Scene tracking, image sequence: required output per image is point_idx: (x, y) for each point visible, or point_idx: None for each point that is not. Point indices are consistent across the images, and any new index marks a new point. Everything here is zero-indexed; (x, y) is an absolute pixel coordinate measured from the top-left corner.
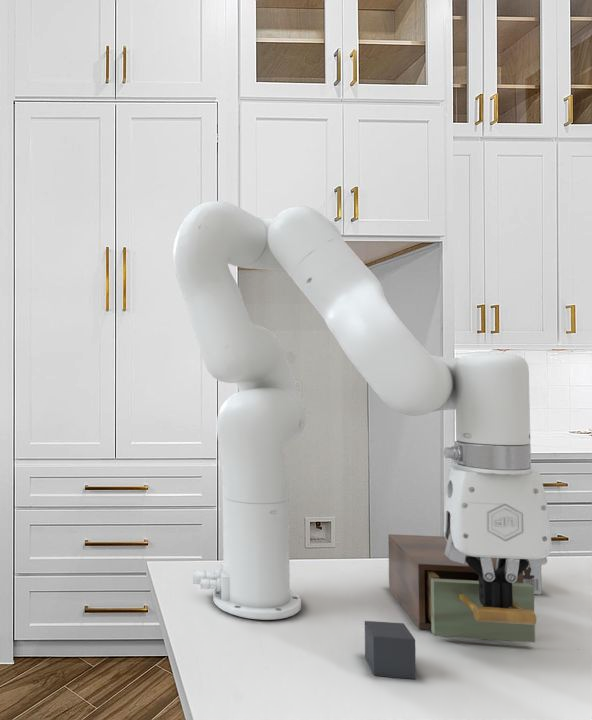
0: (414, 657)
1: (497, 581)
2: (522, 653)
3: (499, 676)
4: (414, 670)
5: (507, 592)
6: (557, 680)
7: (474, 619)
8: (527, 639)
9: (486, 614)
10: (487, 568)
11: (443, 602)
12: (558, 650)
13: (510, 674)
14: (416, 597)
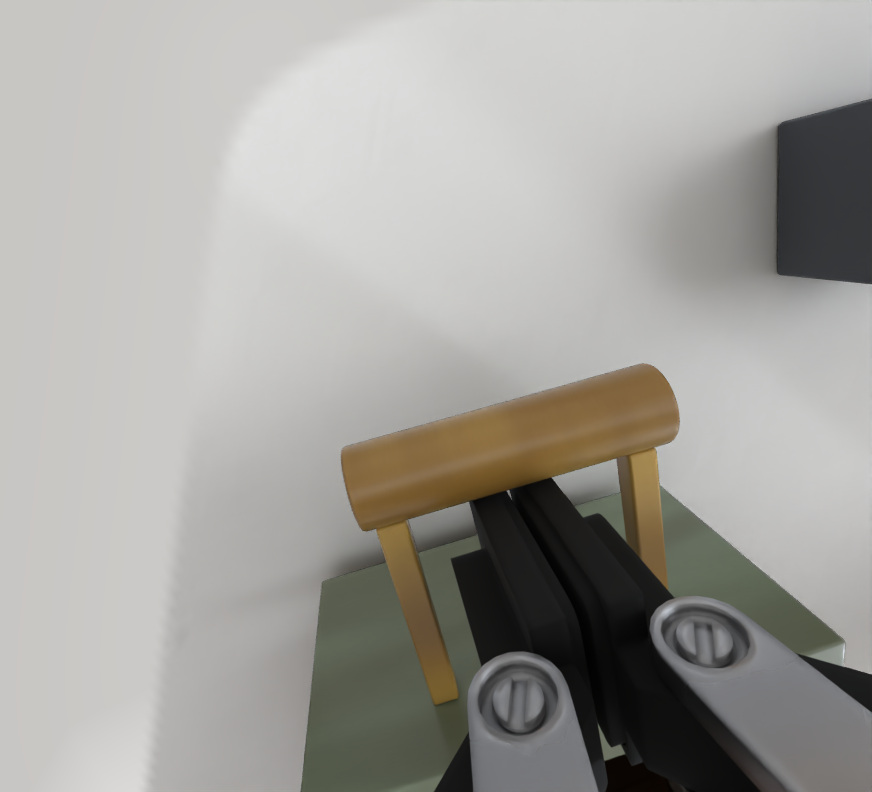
0: (862, 101)
1: (585, 665)
2: None
3: (481, 286)
4: (811, 115)
5: (515, 571)
6: (285, 342)
7: None
8: (346, 580)
9: (615, 384)
10: (777, 701)
11: (712, 572)
12: (246, 596)
13: (440, 321)
14: None
